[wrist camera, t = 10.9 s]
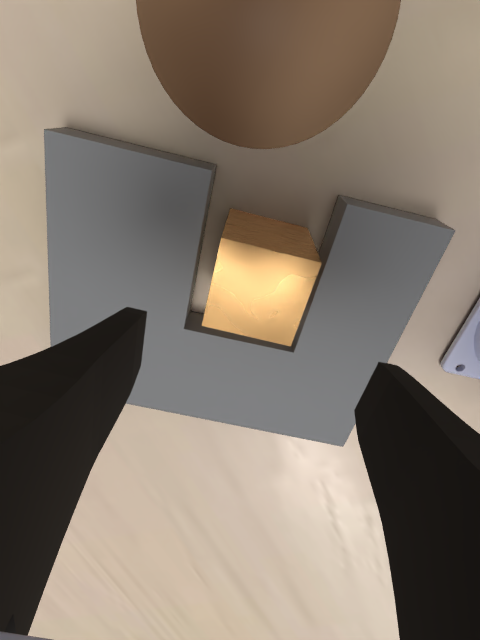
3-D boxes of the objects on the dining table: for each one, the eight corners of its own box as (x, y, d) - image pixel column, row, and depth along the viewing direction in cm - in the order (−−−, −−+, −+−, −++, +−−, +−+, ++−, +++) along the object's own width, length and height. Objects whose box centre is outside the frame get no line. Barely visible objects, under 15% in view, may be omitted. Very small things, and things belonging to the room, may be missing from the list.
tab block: (307, 227, 19) (321, 262, 14) (284, 297, 21) (290, 346, 16) (230, 207, 19) (221, 237, 14) (214, 280, 20) (201, 325, 16)
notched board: (436, 219, 18) (455, 230, 17) (337, 423, 25) (343, 446, 23) (66, 127, 17) (44, 129, 15) (67, 368, 24) (52, 388, 22)
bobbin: (380, -49, 14) (455, -148, 8) (319, 154, 17) (345, 172, 12) (193, -105, 13) (149, -247, 8) (167, 115, 17) (125, 117, 11)
